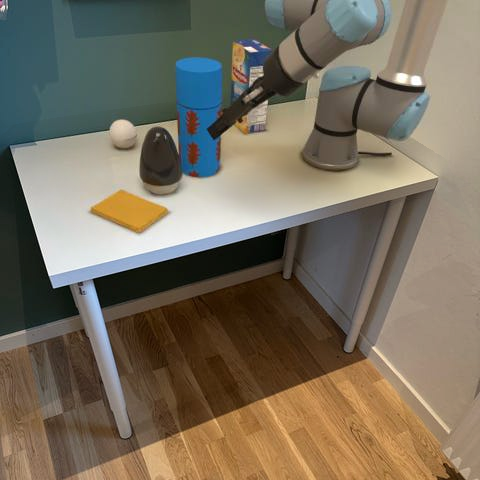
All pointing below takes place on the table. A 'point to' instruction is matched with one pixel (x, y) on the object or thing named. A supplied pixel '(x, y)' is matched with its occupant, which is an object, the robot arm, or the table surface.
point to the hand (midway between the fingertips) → (212, 133)
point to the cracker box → (249, 80)
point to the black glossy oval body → (160, 162)
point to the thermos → (198, 114)
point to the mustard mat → (129, 210)
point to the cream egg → (123, 133)
